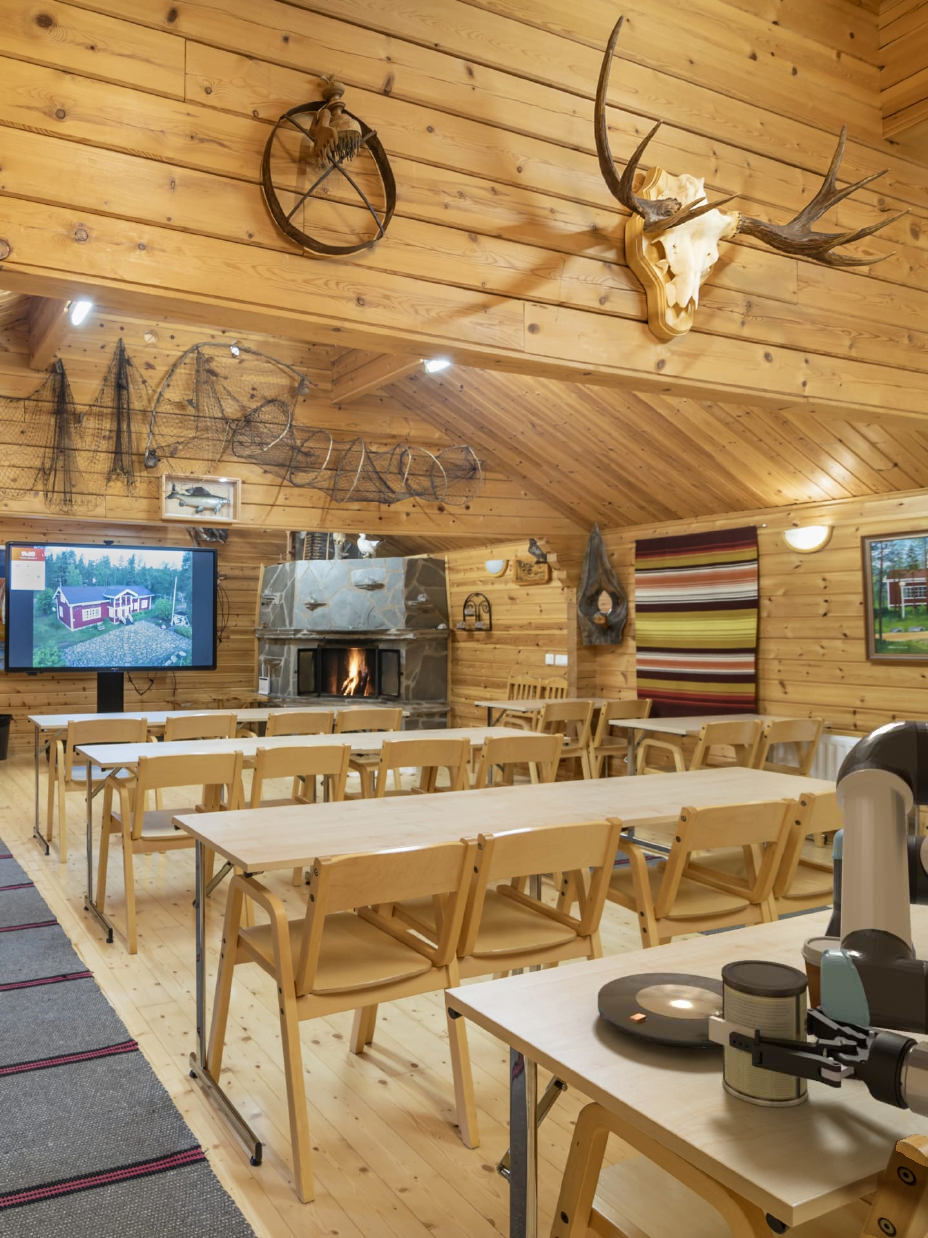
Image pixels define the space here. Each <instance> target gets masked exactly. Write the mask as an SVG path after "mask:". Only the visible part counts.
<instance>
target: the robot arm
mask: <svg viewBox="0 0 928 1238" xmlns="http://www.w3.org/2000/svg"><path fill="white" fill-rule="evenodd" d="M835 798H836V802H837V804H838V807H840V809H841V810H842V812H843V815H842V816H843V817H842V818H843V820H842V821H843V823H842V826H843V827H842V828H840V829H839V830H838V831H836V833H835V834H834V836H833V842H832V843H833V845H832V848H833V849H832V853H831V858H832V859H833V864H832V865H833V866H832V867H833V868H832V869H833V870H832V873H833V877H832V881H833V883H832V899H833V900H832V913H831V916H830V919H829V921H828V925H827V927H826V931H825V932H824V933H825V934H824V936H829V937H839V938H841V941H840V948H838V949H825V950H824V951H823V952H822V958H821V979H820V994H821V1006H818V1007H817V1011H815V1010H814V1009H811V1007H810V1008H808V1007H807V1037H808V1036H809V1037H810V1036H814V1037H816V1038H817V1040H816V1041H815V1042H812V1041H811V1042H810V1041H807V1042H805V1041H796V1040H788V1039H780V1038H772V1037H764V1036H760V1030H753V1029H750V1028H747V1027H744V1026H741V1025H738V1024H735V1023H732V1022H729V1021H726V1020H723V1019H720V1018H717V1017H714V1016H711V1017H709V1040H712V1041H714V1042H717V1043H720V1044H723V1045H726V1046H728V1047H731V1048H734V1049H737V1050H740V1051H743V1052H745V1053H748V1054H751V1055H752V1066H754V1067H757V1068H762V1069H766V1070H770V1071H775V1072H779V1073H783V1074H788V1075H792V1076H796V1077H801V1078H805V1079H807V1080H809V1081H813V1082H817V1083H821V1084H823V1085H826V1086H829V1087H832V1088H834V1089H841V1088H842V1079H846V1080H856V1081H860V1082H861V1081H862V1082H863V1083H864V1084H865V1086H866V1088H867V1089H868V1092H869V1094H870V1097H872V1098H873V1099H875V1100H876V1101H878V1102H881V1103H883V1104H887V1105H888V1106H889V1105H890V1106H893V1107H895V1108H896V1109H897V1108H898V1109H901V1110H902V1111H904V1110H908V1109H909V1110H910V1111H911V1112H912V1113H913V1114H917V1115H919V1116H922V1117H924V1118H927V1119H928V1041H925V1040H923V1041H919V1042H918V1041H917V1040H916V1039H915V1038H913V1037H910V1036H907V1035H902V1034H900V1033H896V1032H893V1031H899V1032H903V1033H905V1032H906V1033H912V1034H917V1035H925V1036H928V960H926V959H924V960H923V959H919V958H918V959H917V952H916V948H915V945H914V943H913V940H912V939H913V938H912V920H911V917H912V916H911V905H918V906H926V907H928V834H927V835H926V836H925V835H909V834H907V817H906V816H907V815H908V814H909V813H910V811H911V810H912V808H913V805H916V806H928V721H927V720H925V721H923V720H912V719H911V720H909V719H908V720H907V719H905V720H897V721H892V722H889V723H885V724H883V725H881V726H879V727H877V728H875V729H873V730H872V731H870V732H869V733H867V734H865V735H864V736H863V737H862V738H861V739H860V740H858V741H857V742H856V743H855V744H854V746H853V747H852V748H850V750H849V752H848V753H847V754H846V755H845V757H844V759H843V761H842V763H841V764H840V767H839V770H838V773H837V777H836V785H835ZM827 1017H828V1018H829V1019H828V1018H827Z"/></svg>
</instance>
